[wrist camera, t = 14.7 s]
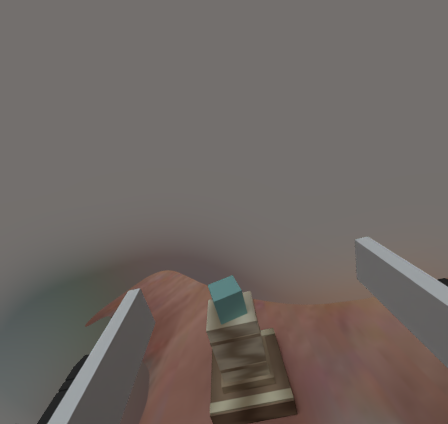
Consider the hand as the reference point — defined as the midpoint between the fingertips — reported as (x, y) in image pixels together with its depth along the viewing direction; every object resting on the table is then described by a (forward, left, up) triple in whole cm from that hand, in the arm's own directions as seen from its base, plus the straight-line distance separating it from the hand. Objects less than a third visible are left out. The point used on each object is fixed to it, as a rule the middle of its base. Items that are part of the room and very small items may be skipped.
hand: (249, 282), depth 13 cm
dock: (+4, -15, -30) cm, 34 cm away
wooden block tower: (+4, -15, -27) cm, 31 cm away
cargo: (+4, -15, -15) cm, 21 cm away
